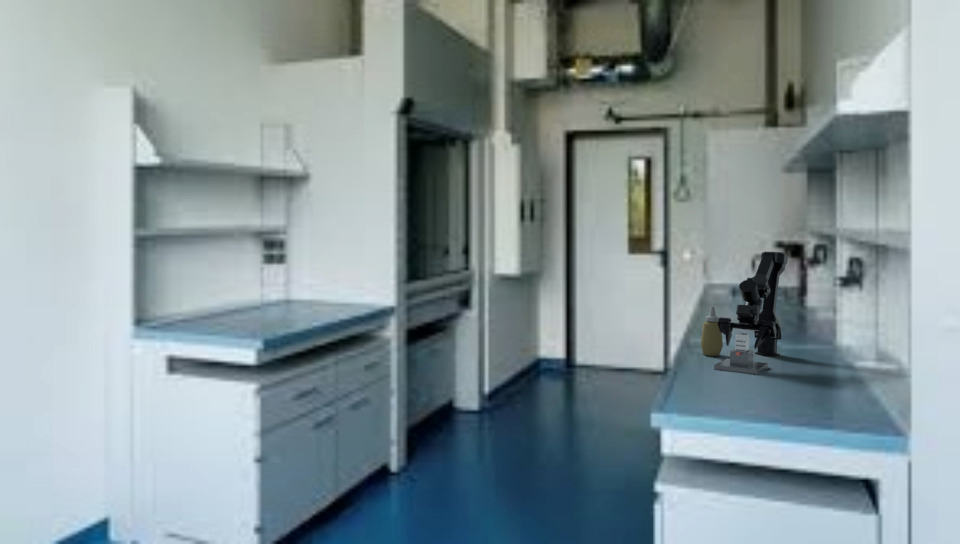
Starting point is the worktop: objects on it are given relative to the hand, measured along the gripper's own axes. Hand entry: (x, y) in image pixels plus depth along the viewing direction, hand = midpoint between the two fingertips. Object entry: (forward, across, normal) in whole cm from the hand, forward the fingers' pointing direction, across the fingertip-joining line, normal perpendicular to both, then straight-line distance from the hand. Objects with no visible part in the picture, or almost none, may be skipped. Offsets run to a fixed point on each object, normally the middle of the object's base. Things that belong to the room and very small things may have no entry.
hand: (740, 346), depth 253 cm
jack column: (+3, 0, +5) cm, 6 cm away
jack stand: (+4, 0, +6) cm, 8 cm away
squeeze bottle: (-9, -17, +20) cm, 28 cm away
